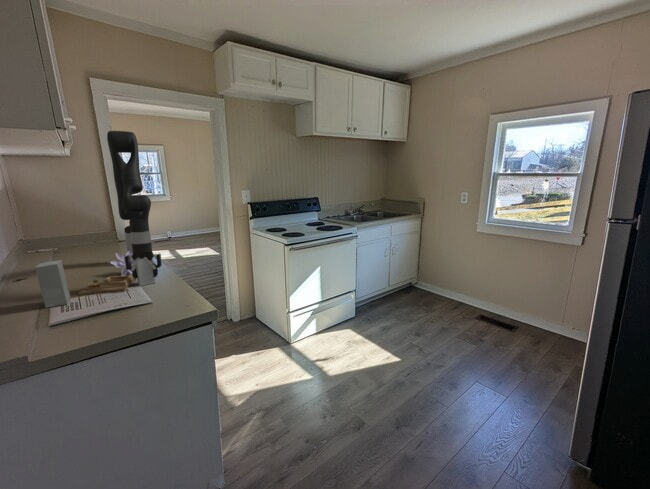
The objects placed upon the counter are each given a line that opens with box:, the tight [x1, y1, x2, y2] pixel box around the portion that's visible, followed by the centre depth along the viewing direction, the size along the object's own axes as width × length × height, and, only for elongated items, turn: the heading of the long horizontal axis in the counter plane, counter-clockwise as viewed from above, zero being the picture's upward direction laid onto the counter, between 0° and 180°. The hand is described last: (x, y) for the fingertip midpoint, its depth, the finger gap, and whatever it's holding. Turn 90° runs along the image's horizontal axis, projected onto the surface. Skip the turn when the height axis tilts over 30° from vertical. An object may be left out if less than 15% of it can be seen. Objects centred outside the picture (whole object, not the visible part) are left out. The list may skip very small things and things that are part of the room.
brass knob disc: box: [87, 278, 102, 287], centre depth 130 cm, size 5×5×2 cm
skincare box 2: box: [135, 258, 156, 287], centre depth 135 cm, size 6×4×12 cm
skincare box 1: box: [34, 259, 71, 308], centre depth 113 cm, size 8×7×16 cm
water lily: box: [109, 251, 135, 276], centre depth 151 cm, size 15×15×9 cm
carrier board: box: [78, 274, 137, 296], centre depth 131 cm, size 16×16×3 cm
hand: (145, 277), depth 136 cm, fingers closed on skincare box 2, 7 cm apart
